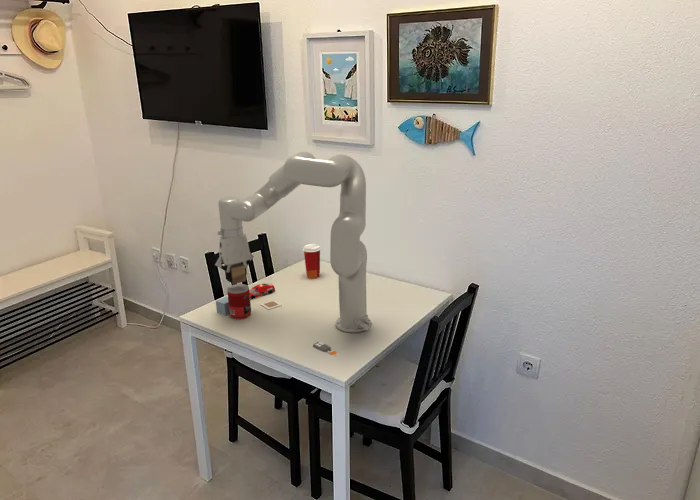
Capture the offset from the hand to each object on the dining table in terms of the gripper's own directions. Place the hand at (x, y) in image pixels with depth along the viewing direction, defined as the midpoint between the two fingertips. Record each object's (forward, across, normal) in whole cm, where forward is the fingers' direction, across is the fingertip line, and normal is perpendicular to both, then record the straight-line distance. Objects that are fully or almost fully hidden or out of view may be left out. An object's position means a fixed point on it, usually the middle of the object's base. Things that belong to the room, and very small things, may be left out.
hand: (236, 278), depth 196 cm
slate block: (+15, -3, +6) cm, 16 cm away
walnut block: (+1, 0, 0) cm, 1 cm away
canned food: (+15, 0, 0) cm, 15 cm away
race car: (+15, +15, +12) cm, 24 cm away
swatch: (+14, +13, 0) cm, 20 cm away
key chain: (+15, +10, -44) cm, 47 cm away
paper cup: (+15, +42, +14) cm, 47 cm away
